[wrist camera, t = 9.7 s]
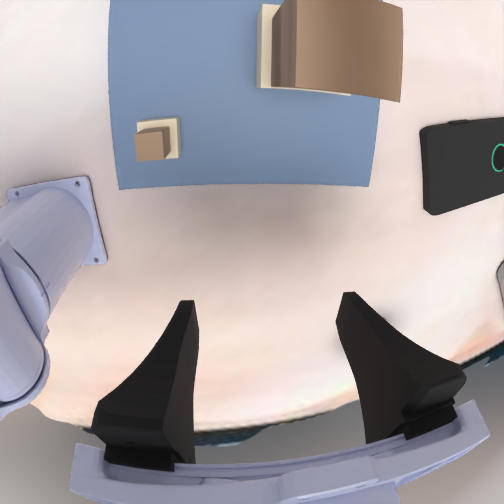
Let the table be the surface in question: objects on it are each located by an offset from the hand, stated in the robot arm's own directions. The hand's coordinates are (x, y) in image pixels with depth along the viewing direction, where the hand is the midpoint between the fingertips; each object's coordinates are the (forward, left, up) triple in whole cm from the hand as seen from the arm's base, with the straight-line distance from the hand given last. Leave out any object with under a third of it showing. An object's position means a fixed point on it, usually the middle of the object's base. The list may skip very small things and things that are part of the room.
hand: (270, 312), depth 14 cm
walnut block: (+2, +12, -6) cm, 13 cm away
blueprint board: (-1, +11, -10) cm, 15 cm away
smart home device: (+24, +8, -11) cm, 27 cm away
